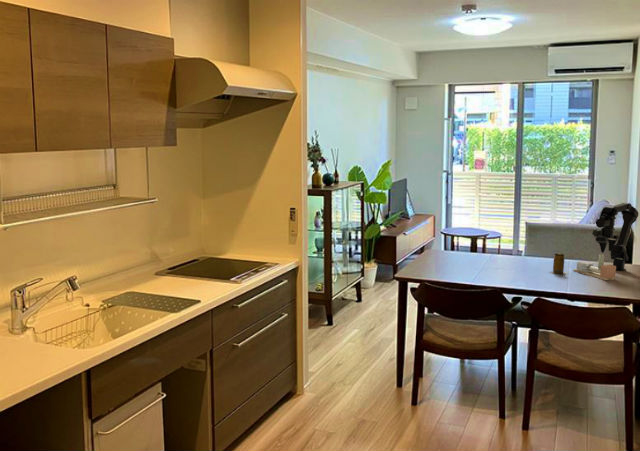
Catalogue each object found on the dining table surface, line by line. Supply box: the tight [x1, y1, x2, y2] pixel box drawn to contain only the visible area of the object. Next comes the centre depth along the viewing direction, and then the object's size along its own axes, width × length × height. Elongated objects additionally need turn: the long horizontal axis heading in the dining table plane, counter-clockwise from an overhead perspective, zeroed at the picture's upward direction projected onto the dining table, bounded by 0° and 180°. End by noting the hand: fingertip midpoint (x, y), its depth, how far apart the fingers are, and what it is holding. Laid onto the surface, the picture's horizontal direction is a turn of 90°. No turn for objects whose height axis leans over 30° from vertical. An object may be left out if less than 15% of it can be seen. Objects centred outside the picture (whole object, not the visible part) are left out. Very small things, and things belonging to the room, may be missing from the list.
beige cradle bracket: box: [587, 253, 605, 274], centre depth 376 cm, size 3×15×12 cm, turn 22°
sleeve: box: [576, 260, 594, 273], centre depth 386 cm, size 5×8×5 cm, turn 22°
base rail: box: [572, 268, 616, 281], centre depth 380 cm, size 7×26×1 cm, turn 22°
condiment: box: [549, 252, 569, 276], centre depth 383 cm, size 7×8×12 cm
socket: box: [600, 263, 617, 279], centre depth 370 cm, size 7×4×7 cm, turn 112°
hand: (606, 251), depth 385 cm, fingers open, 9 cm apart
